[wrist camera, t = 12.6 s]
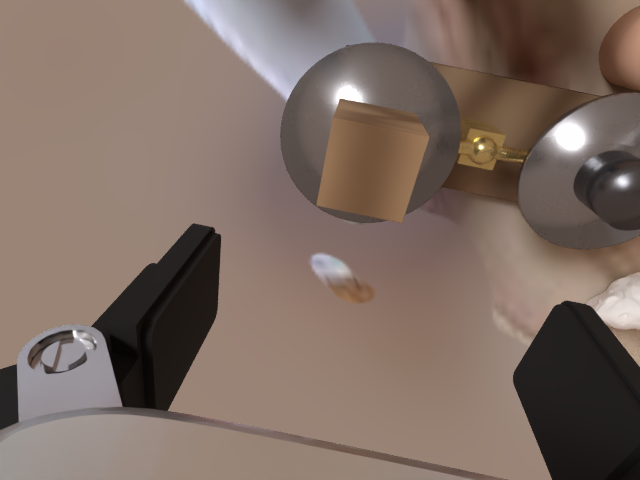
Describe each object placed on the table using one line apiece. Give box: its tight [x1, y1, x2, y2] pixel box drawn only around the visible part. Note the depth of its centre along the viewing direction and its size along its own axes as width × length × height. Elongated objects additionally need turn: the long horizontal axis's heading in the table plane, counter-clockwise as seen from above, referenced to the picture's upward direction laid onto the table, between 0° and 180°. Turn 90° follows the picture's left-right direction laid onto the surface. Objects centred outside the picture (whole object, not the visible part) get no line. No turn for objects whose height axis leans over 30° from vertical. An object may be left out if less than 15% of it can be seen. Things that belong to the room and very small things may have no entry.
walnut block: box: [316, 98, 429, 223], centre depth 23 cm, size 5×5×6 cm
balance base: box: [346, 45, 602, 202], centre depth 35 cm, size 24×10×2 cm, turn 80°
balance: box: [280, 43, 640, 249], centre depth 30 cm, size 30×12×10 cm, turn 80°
